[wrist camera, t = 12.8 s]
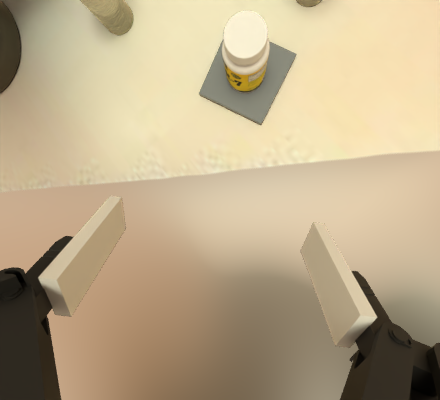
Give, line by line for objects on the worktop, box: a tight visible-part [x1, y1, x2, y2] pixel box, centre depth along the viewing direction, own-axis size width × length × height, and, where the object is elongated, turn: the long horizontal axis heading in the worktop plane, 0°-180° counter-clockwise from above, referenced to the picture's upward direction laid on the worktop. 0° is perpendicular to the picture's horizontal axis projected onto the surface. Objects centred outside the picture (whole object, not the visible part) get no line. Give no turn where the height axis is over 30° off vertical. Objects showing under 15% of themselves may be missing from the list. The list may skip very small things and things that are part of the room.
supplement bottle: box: [222, 10, 270, 93], centre depth 24 cm, size 5×5×8 cm
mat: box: [199, 41, 296, 125], centre depth 28 cm, size 9×9×1 cm
